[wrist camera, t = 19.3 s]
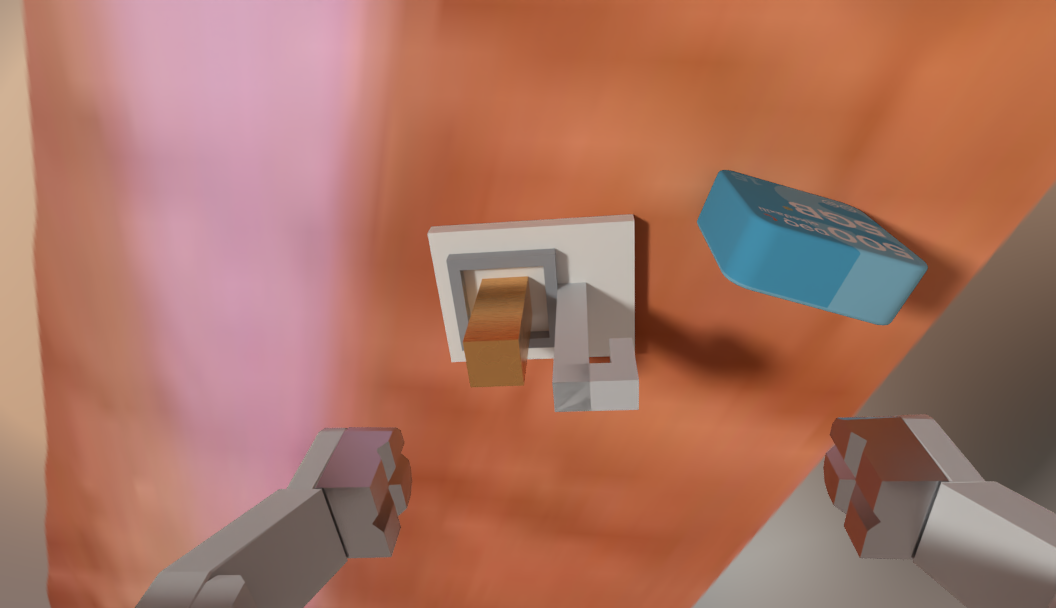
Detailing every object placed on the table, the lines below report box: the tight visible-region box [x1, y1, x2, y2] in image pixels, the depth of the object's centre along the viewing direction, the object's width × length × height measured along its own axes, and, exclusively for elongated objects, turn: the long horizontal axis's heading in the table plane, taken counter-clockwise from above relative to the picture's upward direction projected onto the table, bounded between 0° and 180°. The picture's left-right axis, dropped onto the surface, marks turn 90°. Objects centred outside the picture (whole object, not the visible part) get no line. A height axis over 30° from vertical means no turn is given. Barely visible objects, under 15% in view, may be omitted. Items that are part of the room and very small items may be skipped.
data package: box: [697, 170, 928, 325], centre depth 41 cm, size 12×4×12 cm, turn 75°
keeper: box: [428, 214, 639, 412], centre depth 45 cm, size 17×13×16 cm
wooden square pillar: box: [463, 276, 533, 387], centre depth 46 cm, size 4×4×10 cm
